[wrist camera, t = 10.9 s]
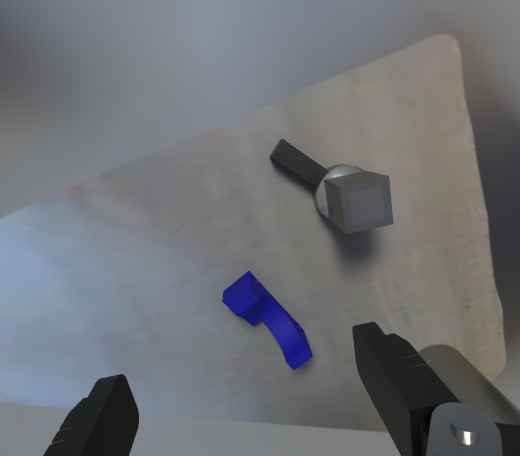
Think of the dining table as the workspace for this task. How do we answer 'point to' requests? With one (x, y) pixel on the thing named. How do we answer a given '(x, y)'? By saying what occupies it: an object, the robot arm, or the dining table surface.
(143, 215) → the dining table surface
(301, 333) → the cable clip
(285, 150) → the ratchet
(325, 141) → the dining table surface
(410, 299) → the dining table surface
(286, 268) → the dining table surface
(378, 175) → the grey paneled cube
